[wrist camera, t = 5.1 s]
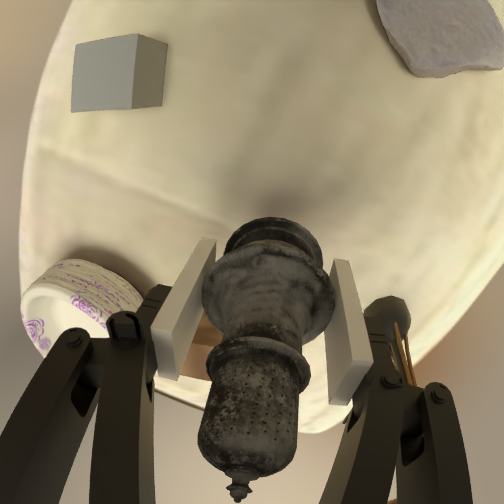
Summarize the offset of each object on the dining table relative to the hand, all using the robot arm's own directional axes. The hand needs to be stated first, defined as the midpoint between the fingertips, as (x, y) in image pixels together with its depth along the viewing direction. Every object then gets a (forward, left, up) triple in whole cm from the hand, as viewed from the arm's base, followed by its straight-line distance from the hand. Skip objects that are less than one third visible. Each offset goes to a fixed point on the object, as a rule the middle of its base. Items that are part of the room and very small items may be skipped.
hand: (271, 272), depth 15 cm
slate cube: (+12, -10, -9) cm, 18 cm away
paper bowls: (+16, +13, -9) cm, 23 cm away
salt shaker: (0, 0, -1) cm, 1 cm away
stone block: (-9, -19, -10) cm, 23 cm away
